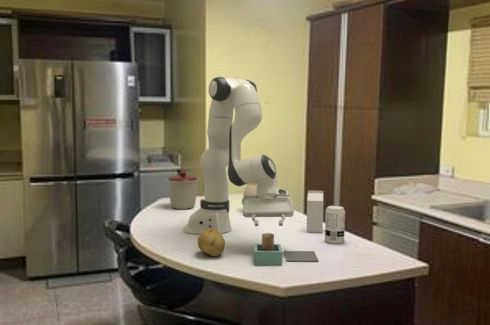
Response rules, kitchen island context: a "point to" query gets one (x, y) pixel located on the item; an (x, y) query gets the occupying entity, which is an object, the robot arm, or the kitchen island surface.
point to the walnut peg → (267, 242)
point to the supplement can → (334, 224)
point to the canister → (182, 190)
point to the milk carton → (315, 211)
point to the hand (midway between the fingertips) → (268, 225)
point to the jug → (250, 189)
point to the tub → (267, 255)
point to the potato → (211, 242)
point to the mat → (300, 256)
